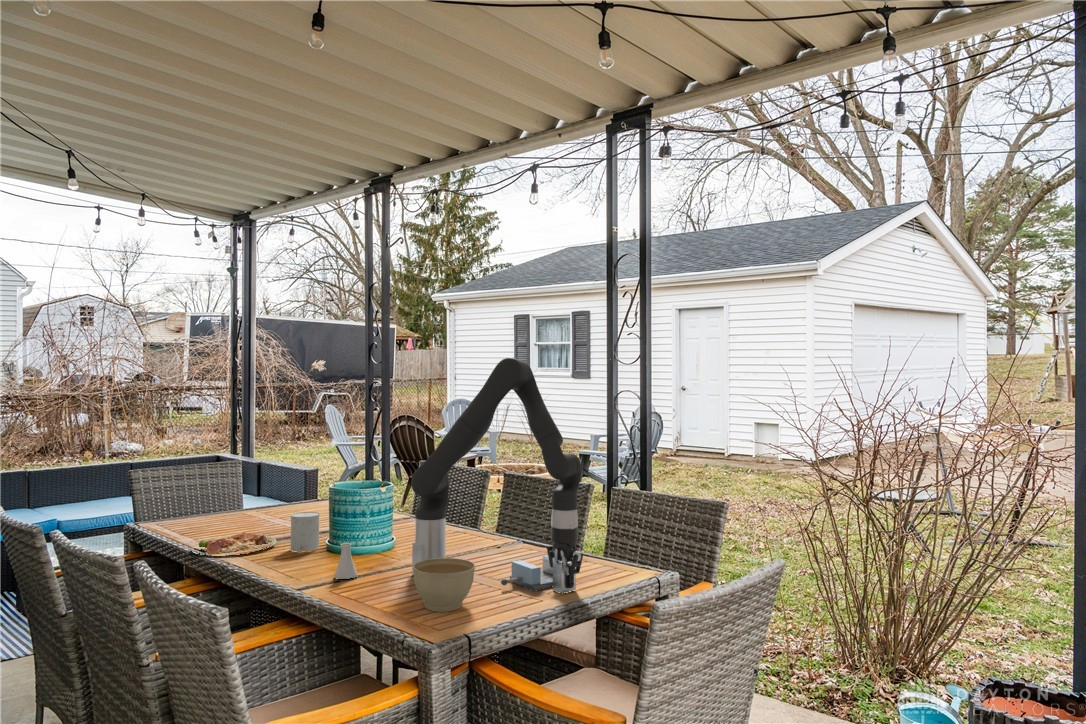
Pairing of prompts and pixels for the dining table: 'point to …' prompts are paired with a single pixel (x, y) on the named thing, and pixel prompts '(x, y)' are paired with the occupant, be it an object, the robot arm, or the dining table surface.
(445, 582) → the planter bowl
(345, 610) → the dining table surface
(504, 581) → the sliding jaw
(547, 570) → the vise
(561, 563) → the steel block
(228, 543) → the rice dish
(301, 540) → the grey cylinder
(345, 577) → the flask
